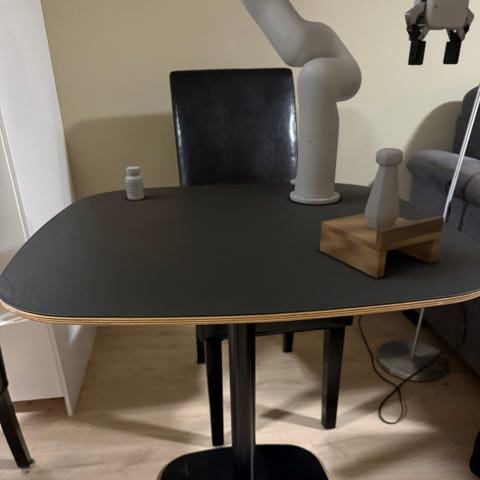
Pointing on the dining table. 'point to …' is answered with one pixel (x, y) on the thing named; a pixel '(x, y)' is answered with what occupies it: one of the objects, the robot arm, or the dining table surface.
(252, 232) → the dining table surface
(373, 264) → the shelf
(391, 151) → the salt shaker
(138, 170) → the pill bottle
